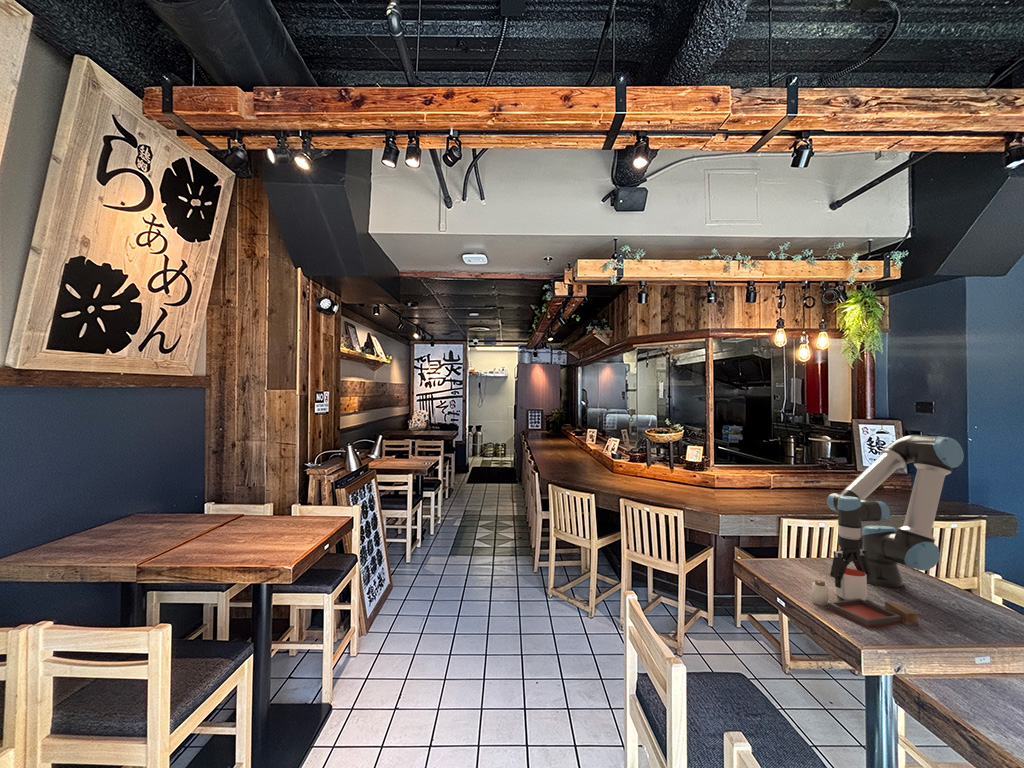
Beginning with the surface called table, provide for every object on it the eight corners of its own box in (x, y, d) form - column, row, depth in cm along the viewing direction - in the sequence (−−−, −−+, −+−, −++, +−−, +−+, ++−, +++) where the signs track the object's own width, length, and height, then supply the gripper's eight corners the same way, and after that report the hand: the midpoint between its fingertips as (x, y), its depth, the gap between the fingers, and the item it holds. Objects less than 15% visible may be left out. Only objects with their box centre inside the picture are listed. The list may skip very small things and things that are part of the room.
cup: (872, 604, 178) (871, 577, 179) (842, 602, 180) (842, 575, 181) (858, 593, 188) (858, 568, 188) (830, 591, 190) (830, 566, 190)
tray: (859, 605, 178) (859, 598, 178) (901, 623, 163) (901, 616, 163) (827, 609, 174) (827, 602, 174) (867, 628, 159) (867, 620, 160)
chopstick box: (896, 612, 172) (896, 601, 172) (918, 625, 162) (918, 613, 162) (885, 612, 172) (884, 601, 172) (906, 625, 162) (906, 613, 162)
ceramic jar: (819, 599, 182) (819, 578, 183) (831, 605, 178) (831, 583, 178) (809, 601, 181) (808, 579, 181) (820, 606, 176) (820, 584, 177)
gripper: (863, 532, 192) (864, 588, 191) (818, 536, 186) (819, 593, 185) (881, 537, 184) (882, 595, 183) (835, 541, 179) (836, 601, 178)
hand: (850, 594), depth 184 cm, fingers closed on cup, 10 cm apart
